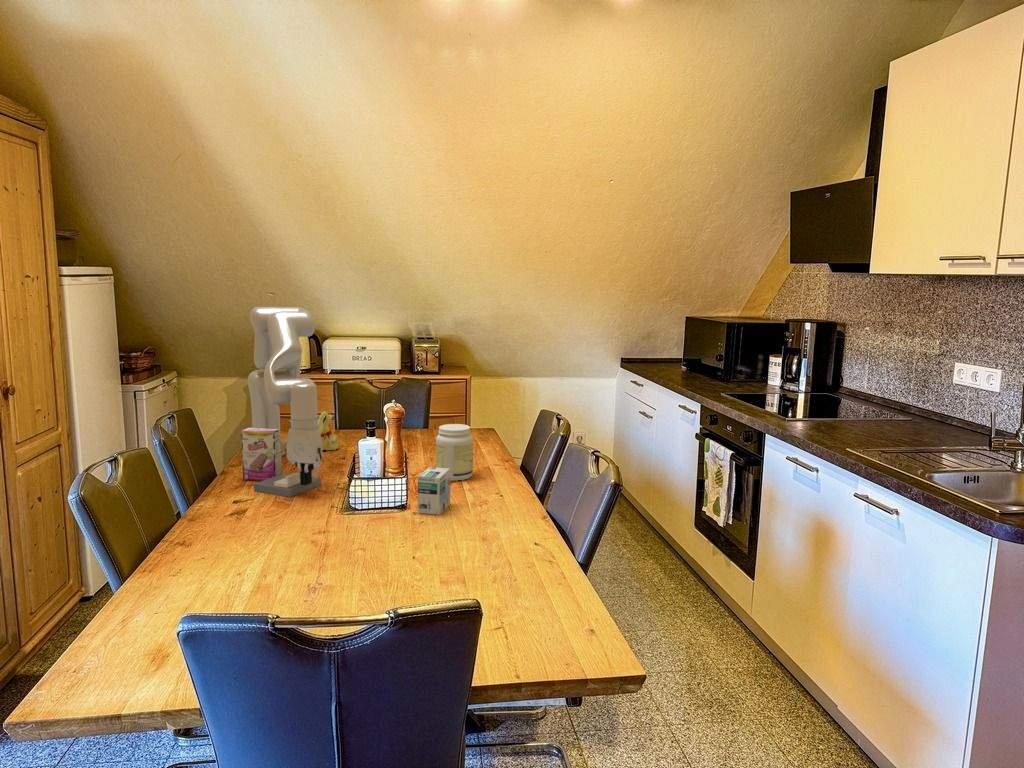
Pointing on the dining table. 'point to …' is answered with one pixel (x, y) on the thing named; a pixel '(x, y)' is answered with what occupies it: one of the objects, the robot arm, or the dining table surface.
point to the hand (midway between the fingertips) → (306, 484)
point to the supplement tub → (455, 450)
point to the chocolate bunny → (327, 432)
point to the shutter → (288, 481)
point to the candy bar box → (261, 453)
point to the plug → (315, 471)
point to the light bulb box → (433, 490)
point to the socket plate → (269, 487)
